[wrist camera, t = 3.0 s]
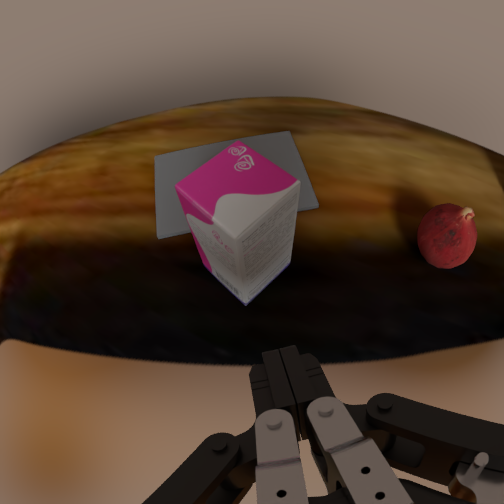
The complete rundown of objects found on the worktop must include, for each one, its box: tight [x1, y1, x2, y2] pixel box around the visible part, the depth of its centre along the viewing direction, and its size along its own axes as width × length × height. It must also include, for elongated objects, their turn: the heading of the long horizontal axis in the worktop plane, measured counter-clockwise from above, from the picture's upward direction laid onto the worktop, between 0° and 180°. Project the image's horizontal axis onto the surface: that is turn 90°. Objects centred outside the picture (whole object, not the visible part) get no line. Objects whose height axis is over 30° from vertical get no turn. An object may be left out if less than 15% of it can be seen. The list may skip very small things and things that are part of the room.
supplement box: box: [175, 140, 301, 306], centre depth 24 cm, size 6×6×12 cm
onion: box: [417, 203, 477, 269], centre depth 25 cm, size 6×6×8 cm
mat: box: [155, 131, 319, 239], centre depth 33 cm, size 16×11×1 cm
